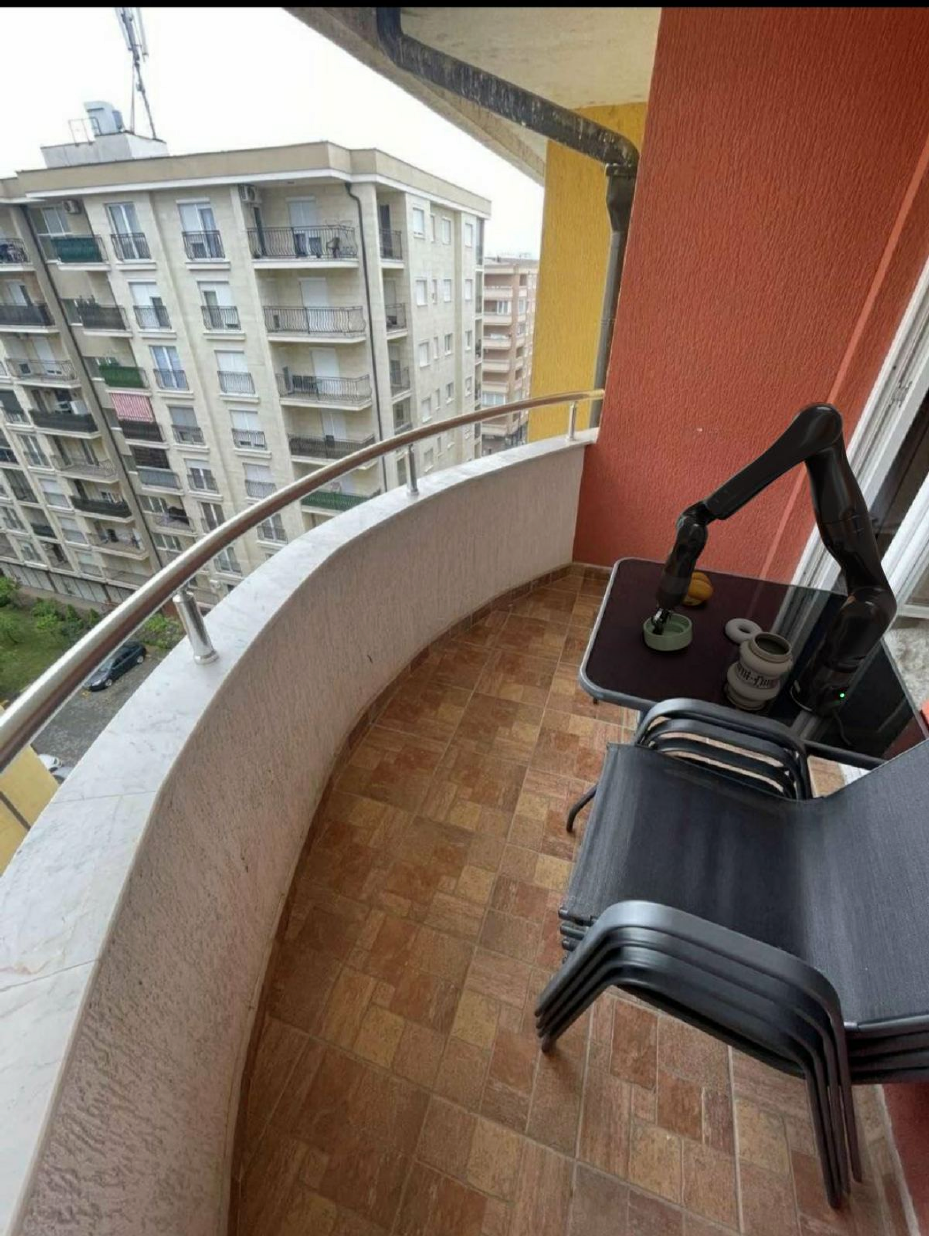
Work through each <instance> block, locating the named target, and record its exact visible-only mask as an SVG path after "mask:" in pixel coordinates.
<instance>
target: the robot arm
mask: <svg viewBox="0 0 929 1236" xmlns="http://www.w3.org/2000/svg"><path fill="white" fill-rule="evenodd" d="M843 429H844V419H843V416H842V412H841V411H840V410H839V408H838V407H836V406H835V405H834V404H832V403H830V402H826V401H814V402H810V403H807V404H805V405H804V406H802V407H801V408H799V409H798V410H797V412H796V413H795V414H794V415H793V416H792V419H791V421H790V424H789V425H788V427H787V428H785V430H784V431H783V432H782V434H781V435H780V436H778V438H777V439H776V440H775V441H774V442H773V443H772V444H771V445H770V446H769V447H767V449H766V450H764V452H762V453H761V454H760V455H759V456H757V457H756V458H754V460H752V461H750V462H749V463H747V464H745V466H744V467H742V468H740V469H739V470H738V471H736V472H735V473H734V474H732V475H731V476H730V477H729V478H727V479H726V480H724V482H723V483H721V484H720V485H719V486H717V488H715V490H713V491H712V492H711V493H710V494H709V495H707V496H706V497H704V498H702V499H700V500H698V501H697V502H695V503H693V504H691V505H690V506H688V507H686V508H685V509H684V510H682V512H681V513H680V514H678V517H677V518H676V520H675V524H674V525H675V540H674V543H673V547H672V548H671V549H670V550H669V551H668V554H667V557H666V560H665V562H664V566H663V568H662V571H661V573H660V576H659V580H658V582H657V586H656V590H655V592H654V597H655V599H656V601H657V602H658V603H657V605H656V607H655V614H654V615H651V616H650V618H651V619H650V620H651V623H652V625H653V626H655V628H654V631H653V634H655V635H660V636H661V635H662V634H663V631H664V628H665V625H666V624H667V623H668V620H670V619H671V617H672V615H673V614H675V612H676V610H677V608H678V607H680V606H682V605H684V604H683V603H684V600H685V598H686V595H687V592H688V589H689V586H690V583H691V579H692V574H693V573H694V571H695V568H696V566H697V562H698V559H699V558H700V557H701V555H702V553H703V551H704V549H705V547H706V545H707V543H708V540H709V528H708V526H709V525H710V524H712V523H713V522H715V521H717V520H718V521H726V520H729V519H730V518H731V517H733V516H734V515H736V514H737V512H739V511H741V509H743V508H745V506H747V505H748V504H749V503H750V502H752V500H754V499H755V498H757V496H758V495H760V494H761V493H762V492H763V491H764V490H765V489H767V488H768V487H769V486H770V485H772V484H773V483H774V482H775V481H776V480H779V478H781V477H782V476H784V475H786V473H787V472H789V471H790V470H792V469H793V468H795V467H796V466H798V465H800V464H801V463H804V465H805V466H804V467H805V468H806V472H807V475H808V480H809V481H808V482H809V489H810V498H811V499H810V500H811V506H812V511H813V515H814V519H815V523H816V524H815V525H816V527H817V530H818V533H819V536H820V539H821V542H822V544H823V546H824V547H825V549H826V551H827V552H828V554H830V556H831V557H832V558H833V559H834V560H835V562H836V563H837V565H838V566H839V567H840V570H841V571H842V576H843V579H844V583H845V586H846V595H847V599H846V601H845V602H844V604H842V606H841V608H839V610H838V612H837V614H836V615H835V617H834V618H833V620H832V622H831V624H830V625H829V626H828V629H827V630H826V631H825V633H824V635H823V637H822V638H821V640H820V642H819V643H818V645H817V647H816V648H815V650H814V652H813V653H812V655H811V656H810V658H809V660H808V661H807V662H806V664H805V666H804V667H803V669H802V670H801V672H800V674H799V676H797V679H795V680H794V682H793V685H792V686H791V688H790V689H789V698H790V699H791V701H792V702H793V703H794V704H795V705H796V706H797V707H798V708H800V709H802V710H803V711H805V712H808V713H809V714H811V715H812V716H818V715H820V716H822V717H825V716H830V715H833V717H834V718H835V720H836V722H837V723H838V727H839V736H840V738H841V739H842V741H843V742H844V743H845V744H846V745H847V746H848V747H850V746H852V743H851V741H849V740H848V739H847V738H846V736H845V733H844V732H845V731H844V730H845V729H844V725H843V722H842V721H841V718H840V716H839V714H838V711H839V710H840V709H841V707H842V706H843V703H842V702H841V700H842V699H843V697H845V694H846V693H847V691H848V690H849V689H850V687H851V685H852V684H851V682H850V680H851V679H852V677H853V676H854V675H855V673H856V672H857V671H858V669H859V668H860V666H861V665H862V664H863V662H864V661H865V659H866V658H867V657H868V656H869V655H870V654H871V652H872V651H873V649H874V648H875V647H876V645H877V644H878V643H879V641H880V640H881V638H883V636H884V634H885V633H886V631H887V630H888V628H889V627H890V625H891V624H892V621H893V620H894V618H895V616H896V614H897V612H898V611H897V610H898V604H897V603H898V602H897V598H896V597H895V596H896V595H895V593H894V591H893V589H892V587H891V584H890V583H889V580H888V578H887V575H886V573H885V570H884V568H883V566H882V562H881V559H880V553H879V548H878V544H877V540H876V536H875V531H874V528H873V523H872V519H871V516H870V511H869V508H868V505H867V502H866V500H865V496H864V494H863V491H862V489H861V487H860V484H859V482H858V480H857V478H856V475H855V474H854V472H853V469H852V468H851V465H850V462H849V459H848V456H847V451H846V445H845V444H846V443H845V439H844V432H843Z"/></svg>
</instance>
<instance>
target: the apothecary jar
mask: <svg viewBox="0 0 929 1236" xmlns="http://www.w3.org/2000/svg"><path fill="white" fill-rule="evenodd" d="M738 653H739V658H738V661H735V662H733V663H732V664H731V665H730V666H729V668H728V669H727V672H726V677H727V683H726V684H725V685H724V689H723V690H724V692H725V693H726V694H727V696H726V698H727V699H728V700H729V701H730V702H731V703H732V704H733V705H734V706H737V707H738V708H741V709H743V710H746V711H747V710H748V711H757V710H761V709H763V708H764V706H765V705H766V703H767V701H768V700H771V699H773V698H775V697H776V696H777V695H778V694H779V692H780V690H781V681H780V678H781V676H782V675H785V674H787V673H788V672H790V671H791V670H792V668H793V667H794V656H793V654H792V646H791V643H789V641H788V640H787V639H786V638H784V637H782V636H781V635H778V634H776V633H772V632H769V631H768V632H767V631H763V632H760V633H757V634H755V635H754V636H753V637H751V638H748V639H746V640H744V641H743V642H742V643H741V644H739V647H738Z"/></svg>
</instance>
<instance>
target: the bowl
mask: <svg viewBox="0 0 929 1236" xmlns="http://www.w3.org/2000/svg"><path fill="white" fill-rule="evenodd" d="M650 619H651V617H649V618H647V619H646V620H645V621H644V623H643V634H644V642H645V644H646V645H647V646H648V647H650V648H651V649H654V650H657V651H665V652H667V651H668V652H669V651H676V650H680V649H683V648H685V647H687V646H688V645H690V644H691V643H692V640H693V626H692V625H693V624H692V620H690V618H688V617H687V616H685V615H683V614H679V613H674V614H673V615H672V617H671V619H670V620H668V623H667V624H666V625H665V628H664V631H663V634H662V635H661V636H660V635H655V634H653V631H654V628H655V626H653V625H652V623H651V620H650Z"/></svg>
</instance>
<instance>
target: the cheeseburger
mask: <svg viewBox="0 0 929 1236" xmlns="http://www.w3.org/2000/svg"><path fill="white" fill-rule="evenodd" d="M713 593H714V587H713V585H712V583H711V582H710V580H709V578H708V576H707V575H706V574H704V573H702V572H699V571H697V572H696V571H695V572H693V574H692V579H691V583H690V586H689V589H688V592H687V595H686V598H685V600H684V603H683V604H682V605H685V606H691V607H693V606H699V605H701V604H702V603H703V602H705V601H708V600H709V599H711V597H712V596H713Z"/></svg>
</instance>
